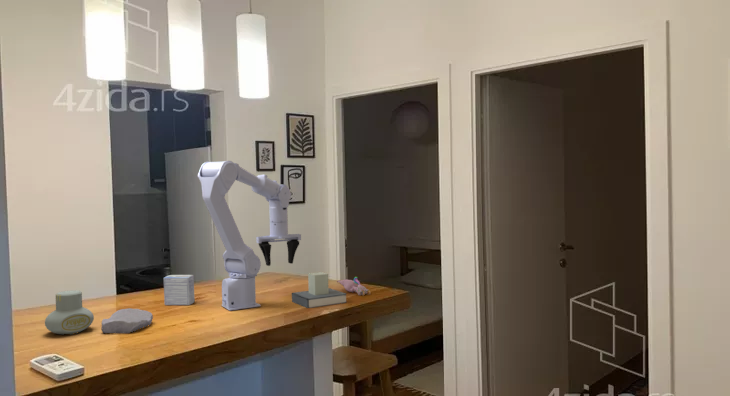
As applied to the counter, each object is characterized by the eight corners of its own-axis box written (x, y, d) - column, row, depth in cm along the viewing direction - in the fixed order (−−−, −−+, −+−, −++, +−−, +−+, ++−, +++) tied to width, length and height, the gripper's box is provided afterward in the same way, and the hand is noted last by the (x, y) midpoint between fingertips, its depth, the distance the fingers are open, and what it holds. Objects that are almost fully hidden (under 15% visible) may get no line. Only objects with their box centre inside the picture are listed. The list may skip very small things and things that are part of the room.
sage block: (315, 295, 170) (314, 275, 169) (308, 292, 173) (308, 273, 173) (328, 293, 172) (328, 273, 172) (321, 291, 176) (321, 271, 176)
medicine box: (195, 302, 176) (194, 274, 175) (189, 305, 171) (188, 277, 171) (170, 302, 176) (169, 274, 176) (164, 305, 172) (163, 277, 172)
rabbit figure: (374, 298, 183) (346, 284, 195) (375, 280, 182) (347, 268, 194) (359, 301, 179) (331, 287, 191) (360, 283, 178) (332, 270, 190)
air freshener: (52, 339, 136) (50, 298, 136) (40, 333, 142) (39, 293, 142) (99, 330, 144) (97, 291, 144) (86, 324, 150) (84, 287, 150)
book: (307, 309, 165) (307, 298, 165) (291, 302, 174) (291, 292, 174) (346, 303, 172) (346, 293, 171) (329, 297, 181) (329, 288, 181)
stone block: (155, 328, 152) (118, 322, 152) (157, 311, 152) (121, 304, 152) (137, 343, 141) (97, 335, 140) (140, 324, 140) (100, 317, 140)
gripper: (261, 223, 174) (262, 267, 175) (304, 221, 182) (305, 263, 182) (253, 222, 180) (254, 265, 181) (295, 220, 188) (296, 261, 188)
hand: (279, 264), depth 182 cm, fingers open, 7 cm apart
